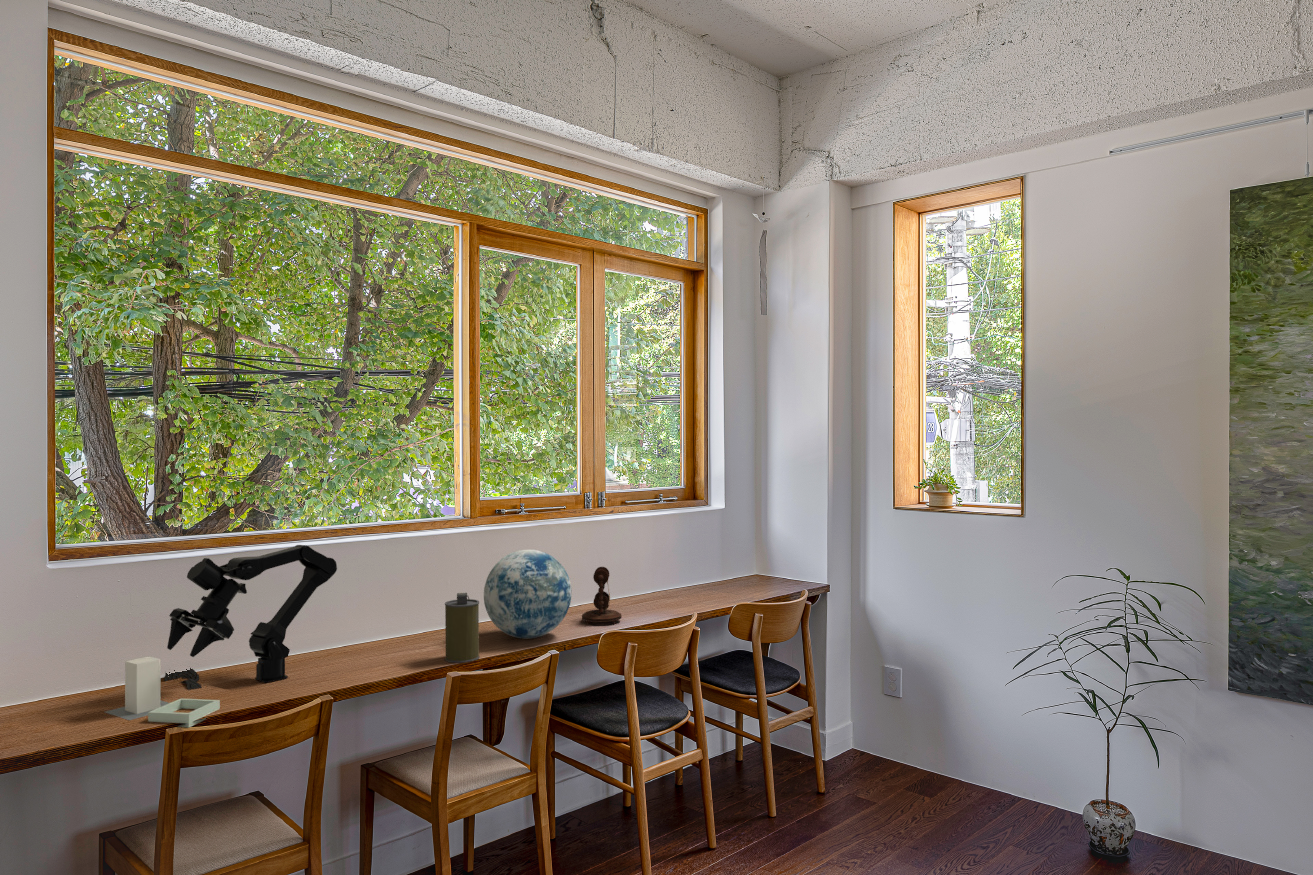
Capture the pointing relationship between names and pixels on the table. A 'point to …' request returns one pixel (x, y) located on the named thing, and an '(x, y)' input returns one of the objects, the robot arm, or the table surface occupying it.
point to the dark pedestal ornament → (601, 601)
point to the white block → (142, 684)
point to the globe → (527, 594)
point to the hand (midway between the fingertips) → (180, 652)
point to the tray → (170, 716)
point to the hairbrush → (188, 674)
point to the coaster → (129, 715)
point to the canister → (462, 629)
